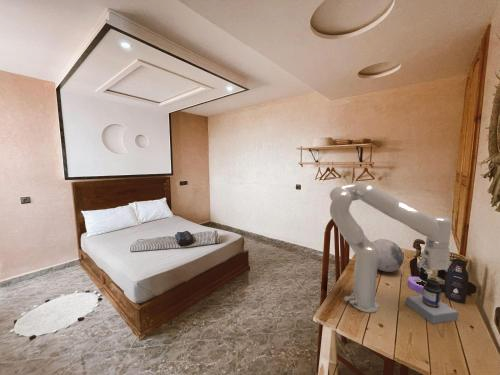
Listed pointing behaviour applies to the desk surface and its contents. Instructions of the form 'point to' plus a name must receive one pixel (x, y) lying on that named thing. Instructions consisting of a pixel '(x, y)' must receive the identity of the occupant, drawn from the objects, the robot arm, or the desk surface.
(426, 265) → the robot arm
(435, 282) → the pill bottle
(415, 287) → the masking tape
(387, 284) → the desk surface
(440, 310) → the podium
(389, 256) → the moon model
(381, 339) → the desk surface
